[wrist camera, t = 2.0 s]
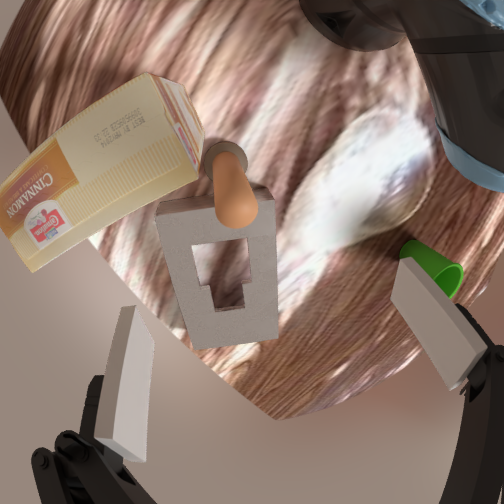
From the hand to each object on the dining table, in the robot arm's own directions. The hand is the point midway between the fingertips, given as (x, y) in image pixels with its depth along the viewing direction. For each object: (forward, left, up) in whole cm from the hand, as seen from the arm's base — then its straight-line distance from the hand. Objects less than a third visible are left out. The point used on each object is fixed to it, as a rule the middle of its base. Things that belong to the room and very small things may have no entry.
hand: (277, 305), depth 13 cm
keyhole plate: (+15, -3, -25) cm, 29 cm away
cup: (+17, +30, -25) cm, 43 cm away
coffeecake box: (-6, -11, -25) cm, 28 cm away
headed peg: (-1, -1, -25) cm, 25 cm away
